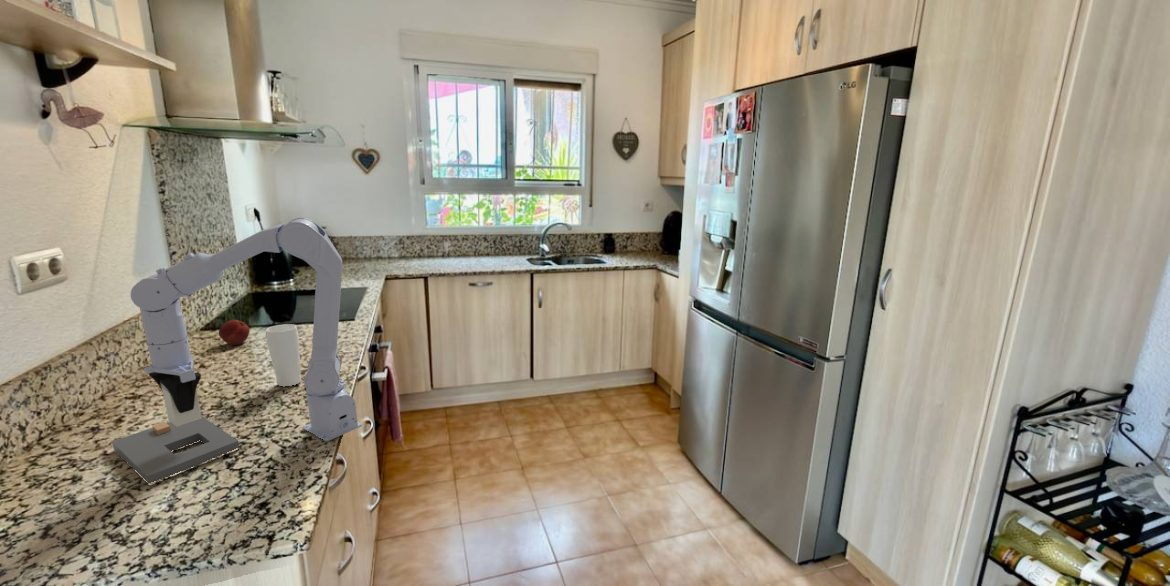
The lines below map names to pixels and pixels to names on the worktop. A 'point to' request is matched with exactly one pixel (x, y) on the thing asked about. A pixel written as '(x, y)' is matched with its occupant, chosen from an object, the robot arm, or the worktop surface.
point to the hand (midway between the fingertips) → (181, 407)
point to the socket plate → (173, 447)
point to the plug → (175, 415)
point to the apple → (234, 332)
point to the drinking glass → (284, 353)
